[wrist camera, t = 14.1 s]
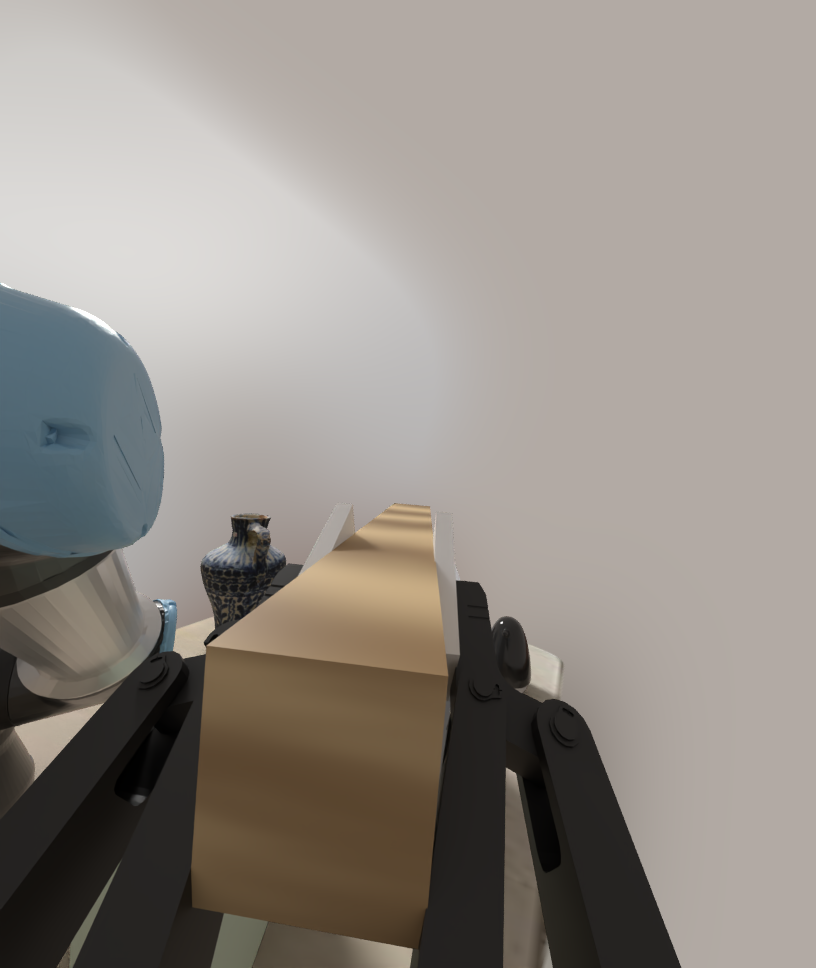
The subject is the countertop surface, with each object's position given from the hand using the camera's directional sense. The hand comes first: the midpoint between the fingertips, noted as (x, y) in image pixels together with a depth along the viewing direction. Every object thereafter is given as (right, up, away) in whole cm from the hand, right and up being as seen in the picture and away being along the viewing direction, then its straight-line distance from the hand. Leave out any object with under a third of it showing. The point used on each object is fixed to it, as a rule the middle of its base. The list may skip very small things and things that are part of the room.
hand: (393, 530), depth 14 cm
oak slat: (0, -5, +4) cm, 7 cm away
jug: (-43, -36, +62) cm, 83 cm away
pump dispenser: (+21, -42, +48) cm, 67 cm away
